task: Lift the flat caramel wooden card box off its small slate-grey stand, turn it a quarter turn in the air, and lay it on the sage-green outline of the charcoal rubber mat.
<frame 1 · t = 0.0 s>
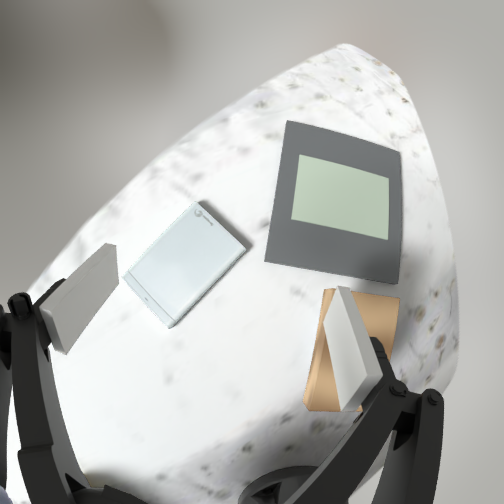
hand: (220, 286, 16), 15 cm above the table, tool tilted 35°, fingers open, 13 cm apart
mat: (342, 198, 33), on the table
card box: (348, 350, 24), point 6 cm above the table, touching stand
hard drive: (183, 265, 32), on the table
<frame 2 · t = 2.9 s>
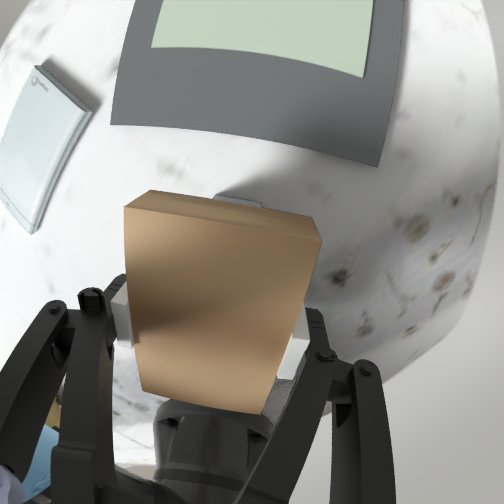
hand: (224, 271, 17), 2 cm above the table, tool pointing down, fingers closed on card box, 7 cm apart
mat: (267, 0, 11), on the table
card box: (214, 307, 14), point 6 cm above the table, touching gripper, stand
toy pig: (52, 395, 34), on the table
hard drive: (37, 149, 17), on the table
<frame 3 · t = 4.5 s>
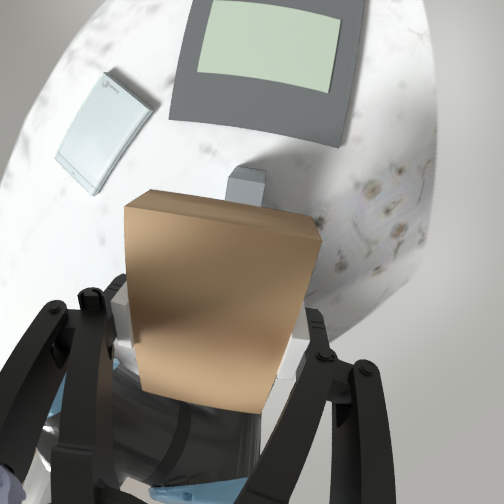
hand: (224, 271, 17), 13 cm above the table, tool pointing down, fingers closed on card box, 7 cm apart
stand: (244, 205, 29), on the table
mat: (269, 42, 21), on the table
card box: (214, 307, 14), point 17 cm above the table, touching gripper
hard drive: (102, 133, 27), on the table
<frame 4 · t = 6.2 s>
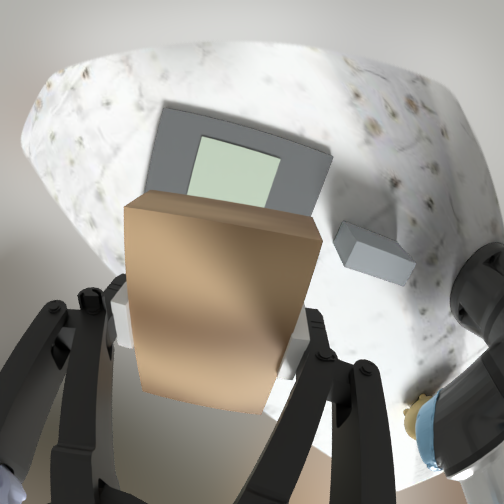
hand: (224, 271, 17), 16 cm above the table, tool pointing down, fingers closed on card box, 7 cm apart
stand: (366, 242, 32), on the table
mat: (226, 199, 31), on the table
card box: (214, 307, 14), point 19 cm above the table, touching gripper
toy pig: (422, 397, 47), on the table
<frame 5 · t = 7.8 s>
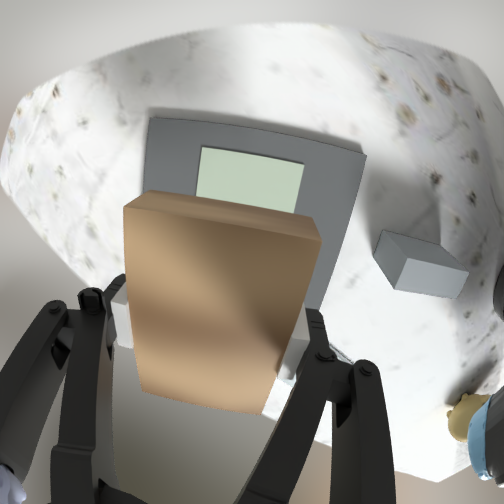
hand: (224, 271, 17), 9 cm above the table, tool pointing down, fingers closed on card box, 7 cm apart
stand: (409, 251, 26), on the table
mat: (241, 221, 26), on the table
card box: (214, 307, 14), point 13 cm above the table, touching gripper
toy pig: (464, 396, 39), on the table
when the fingers open (2 cm above the table, at t = 9.4 s): card box drops 5 cm, resting on mat.
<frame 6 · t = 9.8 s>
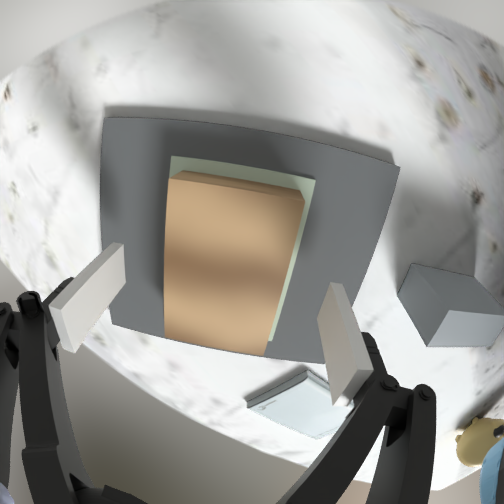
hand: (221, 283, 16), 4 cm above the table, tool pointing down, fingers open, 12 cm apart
stand: (439, 286, 19), on the table
mat: (229, 255, 19), on the table
card box: (227, 261, 18), point 1 cm above the table, touching mat
toy pig: (474, 419, 33), on the table
hard drive: (311, 403, 28), on the table
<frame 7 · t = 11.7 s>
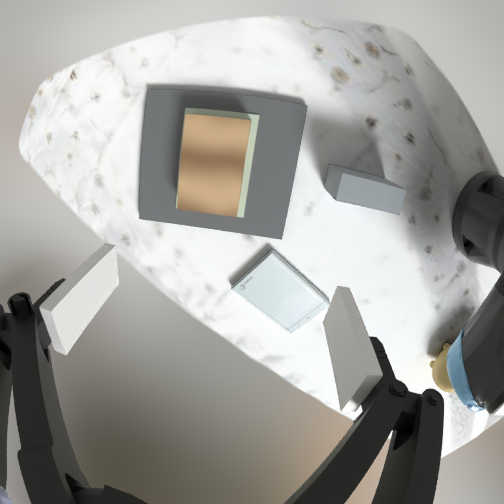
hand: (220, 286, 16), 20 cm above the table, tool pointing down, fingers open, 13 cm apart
stand: (355, 182, 33), on the table
mat: (216, 161, 32), on the table
card box: (214, 162, 31), point 1 cm above the table, touching mat
toy pig: (447, 348, 46), on the table
hard drive: (281, 290, 41), on the table
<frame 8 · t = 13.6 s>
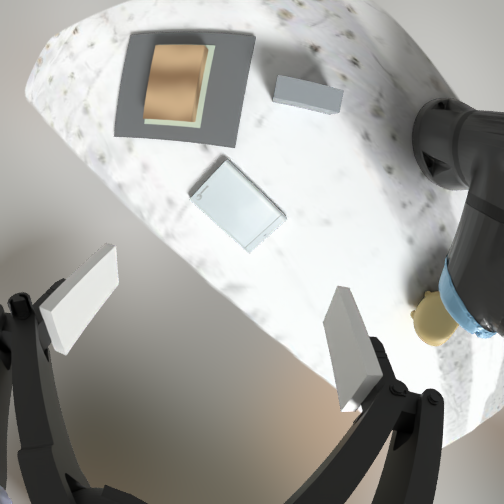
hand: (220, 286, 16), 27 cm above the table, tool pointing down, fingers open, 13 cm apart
stand: (303, 97, 34), on the table
mat: (179, 84, 33), on the table
card box: (177, 83, 32), point 1 cm above the table, touching mat
toy pig: (429, 298, 47), on the table
hard drive: (238, 205, 42), on the table
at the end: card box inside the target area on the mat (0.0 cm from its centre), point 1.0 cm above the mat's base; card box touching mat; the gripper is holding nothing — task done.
